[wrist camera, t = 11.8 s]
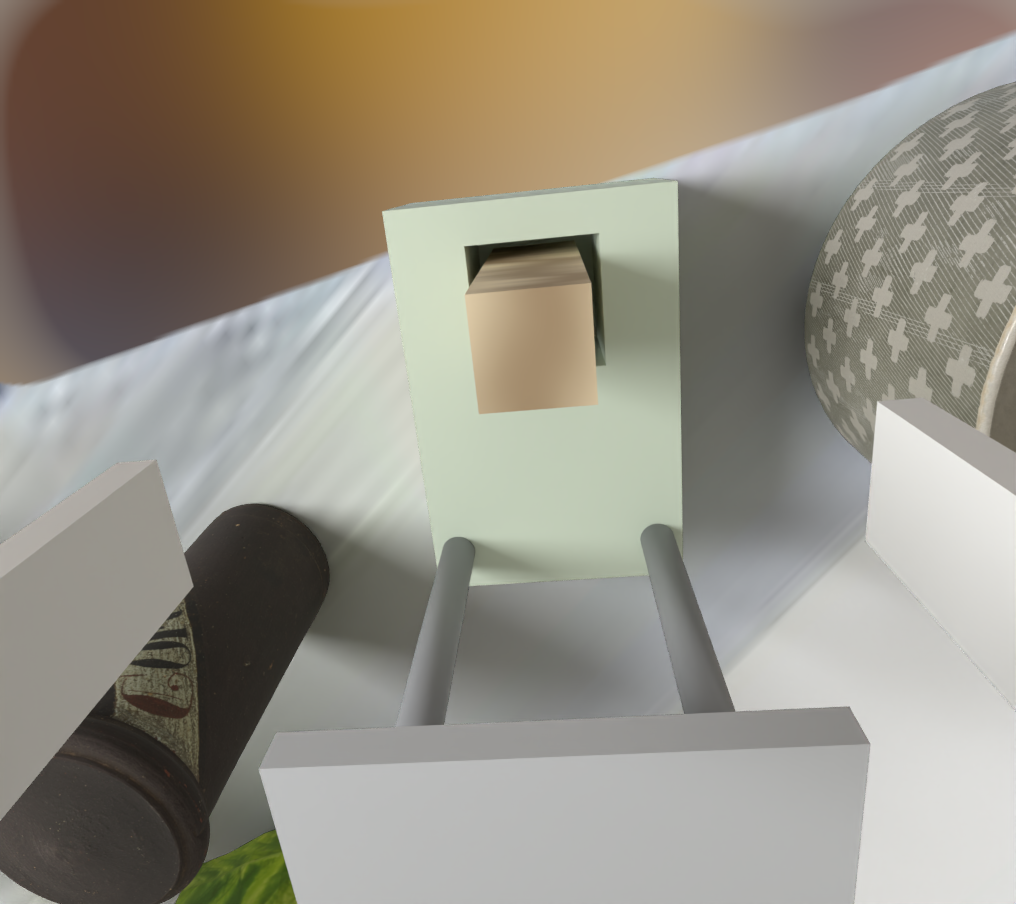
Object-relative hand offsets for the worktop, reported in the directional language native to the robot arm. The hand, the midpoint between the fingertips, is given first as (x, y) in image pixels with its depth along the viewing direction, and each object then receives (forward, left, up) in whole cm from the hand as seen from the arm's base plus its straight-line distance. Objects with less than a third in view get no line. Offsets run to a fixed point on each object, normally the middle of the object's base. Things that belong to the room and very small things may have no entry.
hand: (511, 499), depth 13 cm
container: (-18, -15, -26) cm, 35 cm away
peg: (0, 0, -25) cm, 25 cm away
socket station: (0, -4, -26) cm, 26 cm away
